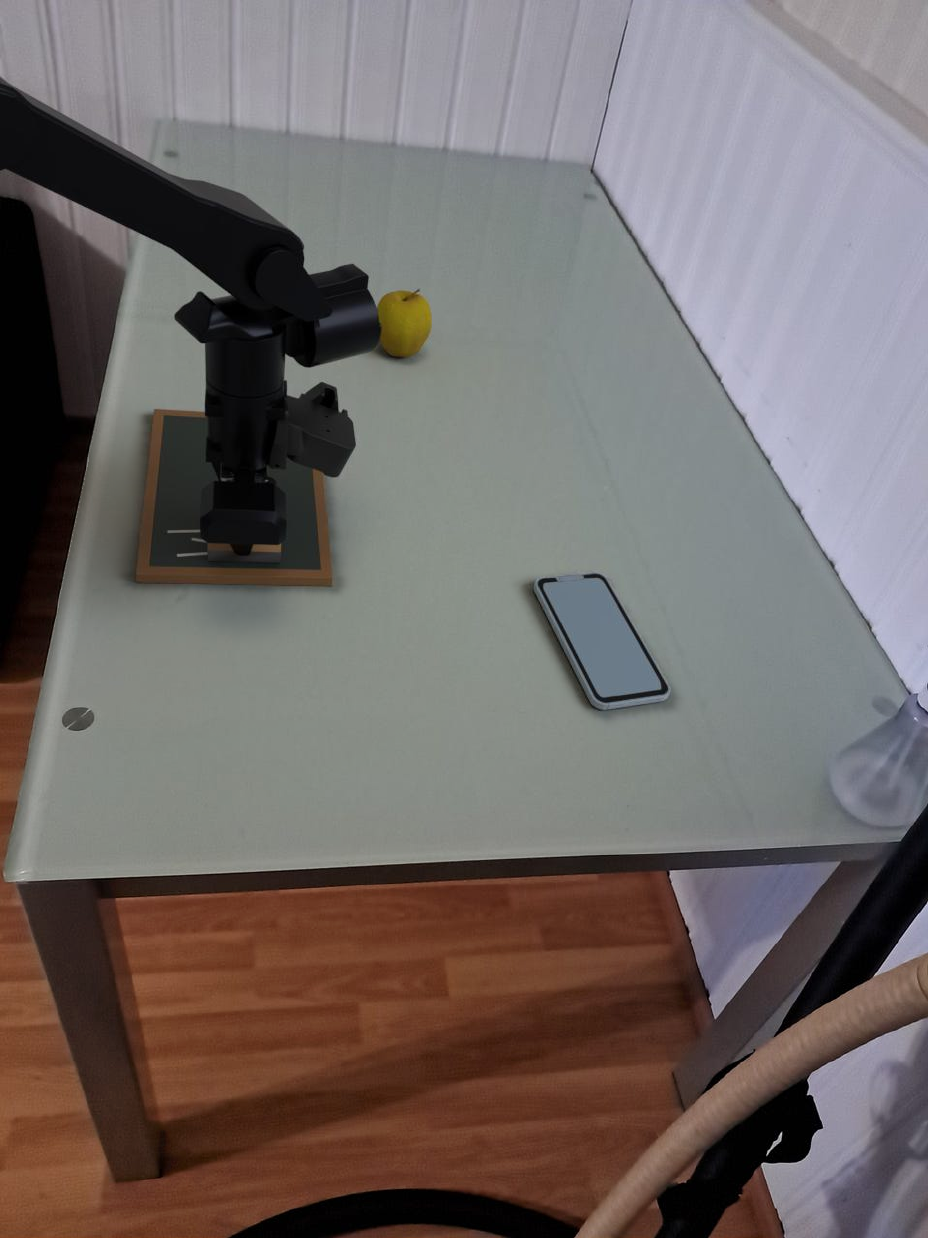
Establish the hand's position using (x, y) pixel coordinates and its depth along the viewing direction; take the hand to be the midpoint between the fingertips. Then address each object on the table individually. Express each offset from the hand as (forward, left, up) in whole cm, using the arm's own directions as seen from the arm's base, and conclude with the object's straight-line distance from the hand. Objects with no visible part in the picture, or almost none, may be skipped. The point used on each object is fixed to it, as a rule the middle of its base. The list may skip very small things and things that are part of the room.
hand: (243, 537), depth 82 cm
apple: (-3, +41, -2) cm, 41 cm away
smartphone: (+31, +7, -2) cm, 32 cm away
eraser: (0, 0, -1) cm, 1 cm away
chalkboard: (-5, +7, -2) cm, 9 cm away
